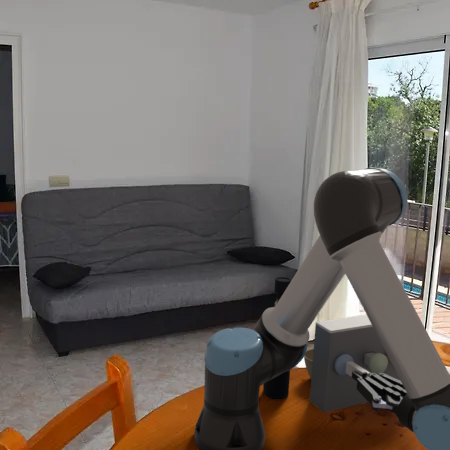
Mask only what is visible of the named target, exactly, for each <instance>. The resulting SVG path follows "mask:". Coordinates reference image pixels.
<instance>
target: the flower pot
mask: <svg viewBox="0 0 450 450" xmlns="http://www.w3.org/2000/svg"><path fill="white" fill-rule="evenodd" d="M313 352H314V348H309V349H307V351H306V354H305V356H304V358H303V359H304V366H305V369H306V370H307V373H308V376H309V378H310V379H311V377H312V364H313Z"/></svg>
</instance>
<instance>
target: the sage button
mask: <svg viewBox="0 0 450 450" xmlns="http://www.w3.org/2000/svg"><path fill="white" fill-rule="evenodd" d="M364 364H366V365H368V369H369V370H370V371H371V372H372V373H376V374H377V375H379V374H380V373H383V372H384V371H385V369H386V368H387V365H388V359H387V357H386V356H385V355H383V354H381V353H375V354H374V353H373V352H371V353H366V354H364Z"/></svg>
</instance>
